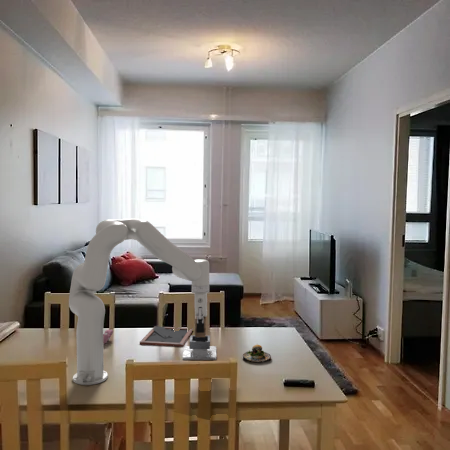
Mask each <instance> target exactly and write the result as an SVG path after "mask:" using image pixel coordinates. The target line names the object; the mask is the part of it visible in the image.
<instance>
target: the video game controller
mask: <svg viewBox="0 0 450 450" xmlns="http://www.w3.org/2000/svg"><path fill="white" fill-rule="evenodd" d="M113 333H114V330H113V329H106V330H105V331H104V332H103V345H104V344H107V343H108V342H109V341H110V340H111V338H112V335H113Z"/></svg>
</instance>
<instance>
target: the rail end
mask: <svg viewBox="0 0 450 450" xmlns="http://www.w3.org/2000/svg"><path fill="white" fill-rule="evenodd" d="M206 317H207V316H206ZM206 317H205V316H204V319H203V323H204V333H197V332H196V323H197V317H196V316H195V319H194V320H195V321H194V335H195V337H206V336H207V335H206V334H207V333H206V329H207V328H206V326H207V324H206V323H207V319H206Z"/></svg>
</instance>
